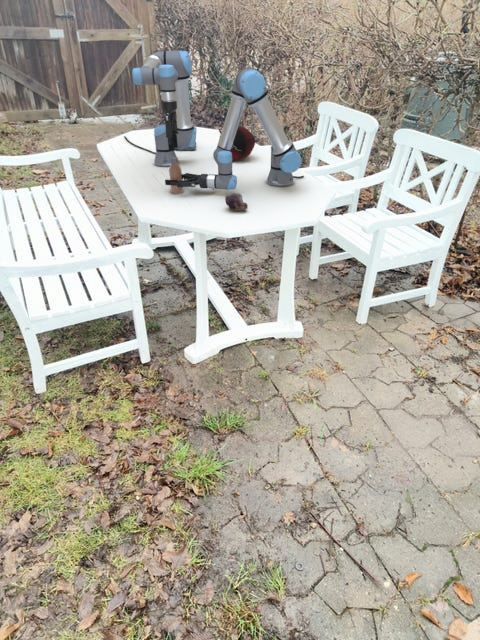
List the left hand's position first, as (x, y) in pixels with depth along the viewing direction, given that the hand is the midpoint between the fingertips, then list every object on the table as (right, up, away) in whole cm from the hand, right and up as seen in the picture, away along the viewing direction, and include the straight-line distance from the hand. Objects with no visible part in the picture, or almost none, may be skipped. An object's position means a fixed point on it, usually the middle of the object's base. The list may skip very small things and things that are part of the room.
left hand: (173, 148), depth 236 cm
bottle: (0, -19, +13) cm, 23 cm away
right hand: (-4, -13, +10) cm, 17 cm away
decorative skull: (+33, +19, +68) cm, 78 cm away
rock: (+33, -35, -10) cm, 49 cm away
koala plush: (-6, +35, +92) cm, 98 cm away
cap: (0, -4, +3) cm, 5 cm away
